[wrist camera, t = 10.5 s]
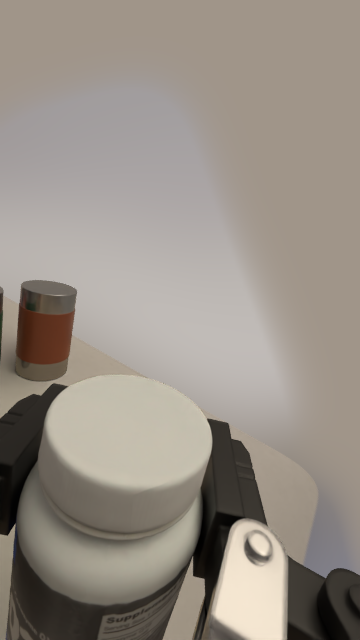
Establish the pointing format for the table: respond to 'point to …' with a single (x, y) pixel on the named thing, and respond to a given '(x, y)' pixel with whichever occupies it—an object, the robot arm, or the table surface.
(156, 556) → the pill bottle
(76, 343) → the table surface
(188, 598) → the table surface
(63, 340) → the can rust
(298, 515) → the table surface
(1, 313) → the can green
